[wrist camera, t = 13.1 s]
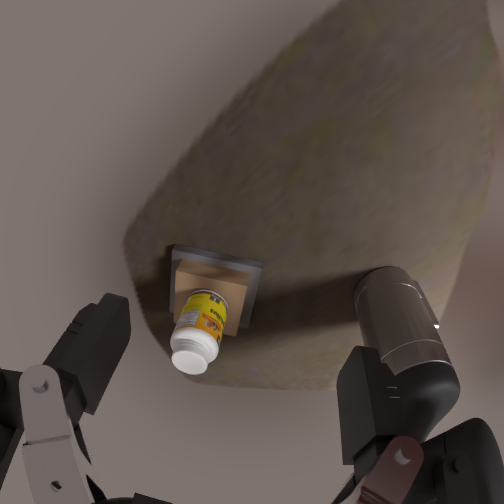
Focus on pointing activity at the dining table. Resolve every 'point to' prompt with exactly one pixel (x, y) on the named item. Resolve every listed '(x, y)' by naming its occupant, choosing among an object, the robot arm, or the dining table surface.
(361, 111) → the dining table surface
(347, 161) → the dining table surface
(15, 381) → the robot arm
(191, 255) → the pedestal
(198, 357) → the supplement bottle
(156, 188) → the dining table surface
